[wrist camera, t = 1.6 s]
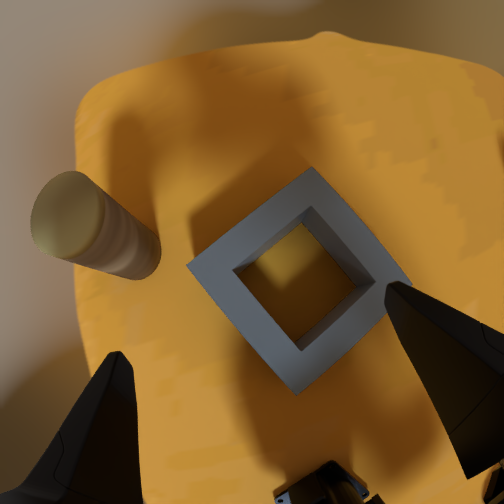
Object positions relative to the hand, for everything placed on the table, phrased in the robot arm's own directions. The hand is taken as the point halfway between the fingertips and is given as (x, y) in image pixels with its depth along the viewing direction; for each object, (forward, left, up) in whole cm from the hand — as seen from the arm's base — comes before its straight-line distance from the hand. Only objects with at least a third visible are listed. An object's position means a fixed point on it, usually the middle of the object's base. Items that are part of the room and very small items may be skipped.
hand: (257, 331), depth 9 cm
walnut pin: (+10, +4, -13) cm, 17 cm away
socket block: (0, -4, -13) cm, 14 cm away
